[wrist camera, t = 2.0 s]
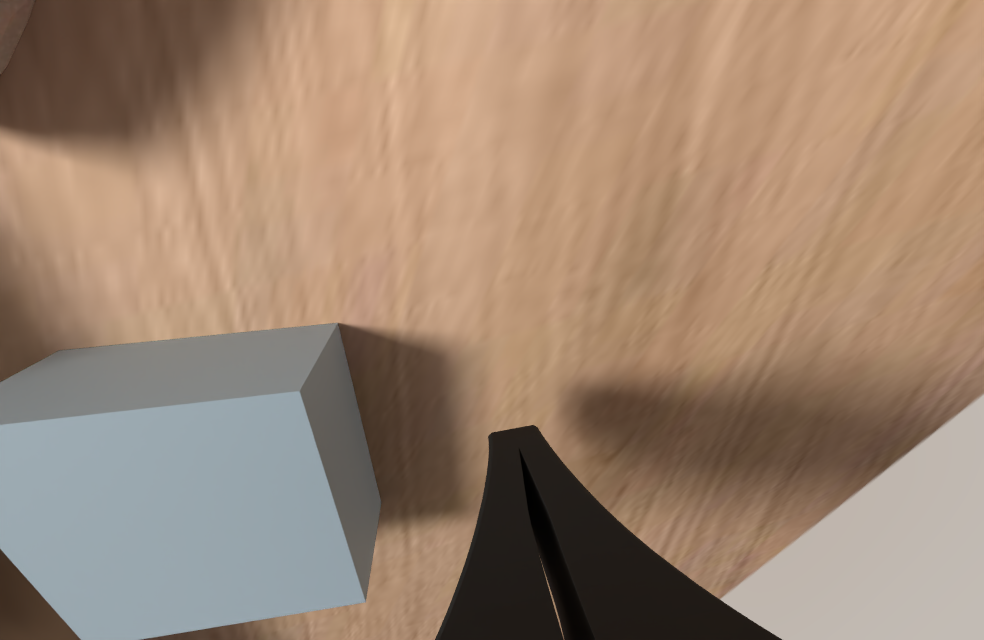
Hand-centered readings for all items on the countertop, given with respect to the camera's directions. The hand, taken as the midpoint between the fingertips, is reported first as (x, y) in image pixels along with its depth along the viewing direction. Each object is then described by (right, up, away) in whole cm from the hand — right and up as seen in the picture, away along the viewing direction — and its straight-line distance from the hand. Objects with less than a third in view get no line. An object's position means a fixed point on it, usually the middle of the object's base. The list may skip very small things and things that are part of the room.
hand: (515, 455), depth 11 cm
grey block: (-9, 0, +3) cm, 10 cm away
